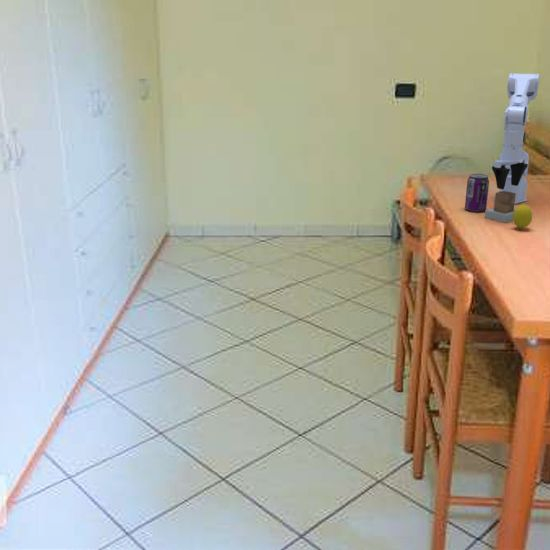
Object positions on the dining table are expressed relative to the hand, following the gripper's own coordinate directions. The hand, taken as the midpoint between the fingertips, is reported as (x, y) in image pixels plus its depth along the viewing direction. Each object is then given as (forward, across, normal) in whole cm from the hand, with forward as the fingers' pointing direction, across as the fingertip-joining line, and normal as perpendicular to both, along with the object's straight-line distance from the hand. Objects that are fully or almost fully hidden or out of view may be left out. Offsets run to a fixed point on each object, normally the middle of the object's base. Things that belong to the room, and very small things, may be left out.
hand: (507, 187), depth 219 cm
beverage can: (+11, +1, +12) cm, 16 cm away
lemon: (+10, -7, -11) cm, 17 cm away
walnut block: (+8, -1, 0) cm, 8 cm away
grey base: (+10, -1, 0) cm, 10 cm away
